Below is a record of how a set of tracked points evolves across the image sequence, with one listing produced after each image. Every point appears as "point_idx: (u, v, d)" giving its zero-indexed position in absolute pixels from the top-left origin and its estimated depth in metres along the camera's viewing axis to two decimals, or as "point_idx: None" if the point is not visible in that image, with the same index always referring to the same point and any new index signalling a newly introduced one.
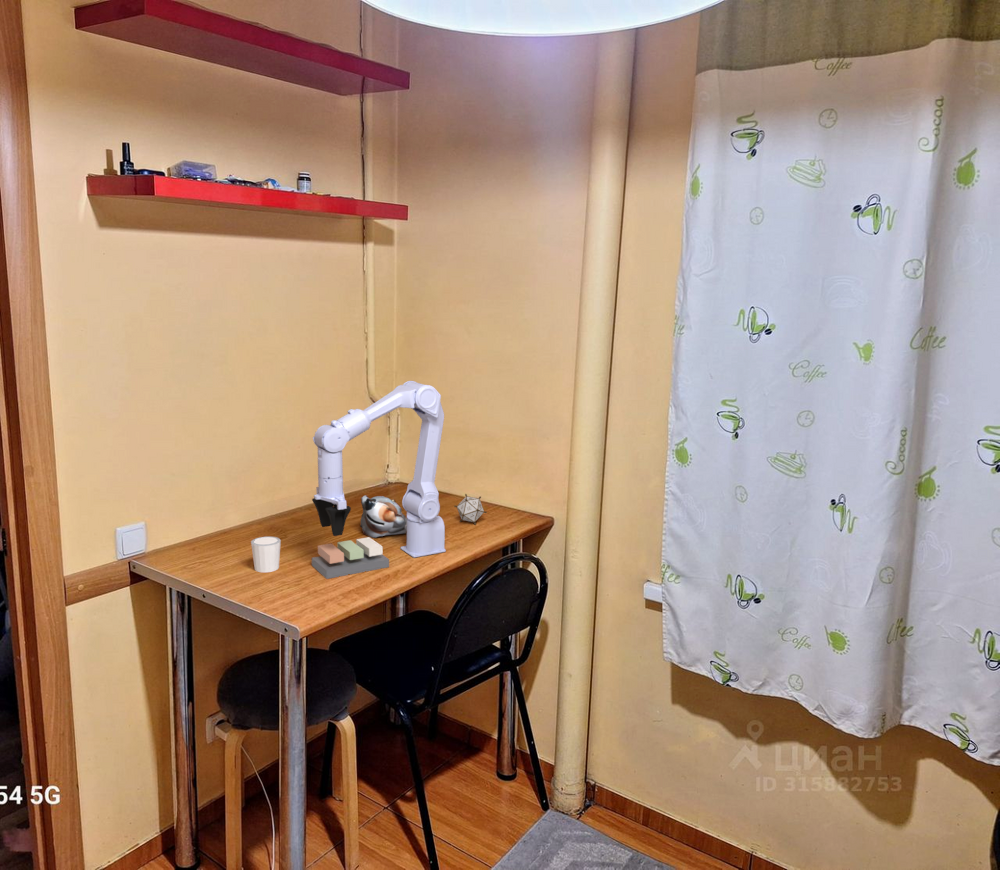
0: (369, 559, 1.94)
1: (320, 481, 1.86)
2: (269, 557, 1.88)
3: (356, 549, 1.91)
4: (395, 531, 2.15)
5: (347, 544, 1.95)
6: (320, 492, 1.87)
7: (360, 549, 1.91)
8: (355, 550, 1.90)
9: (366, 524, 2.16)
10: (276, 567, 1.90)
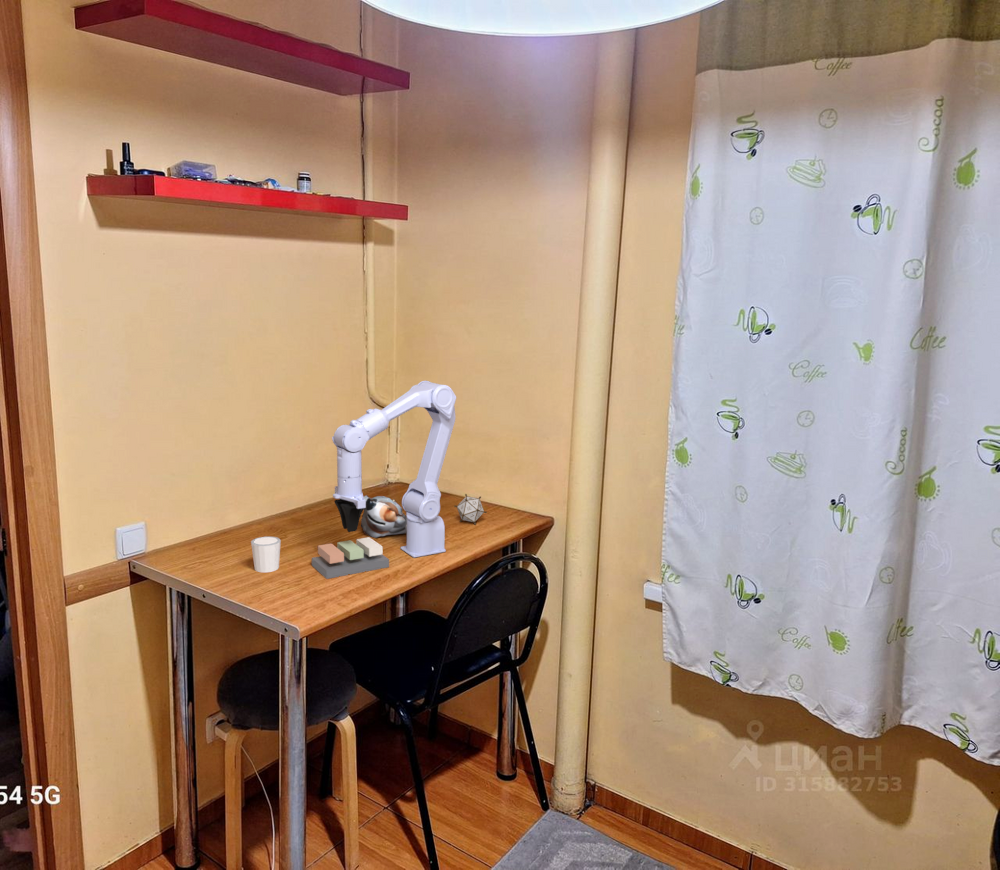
0: (369, 559, 1.94)
1: (339, 480, 1.88)
2: (269, 557, 1.88)
3: (356, 549, 1.91)
4: (396, 531, 2.16)
5: (347, 544, 1.95)
6: (339, 491, 1.88)
7: (360, 549, 1.91)
8: (355, 550, 1.90)
9: (367, 524, 2.16)
10: (276, 567, 1.90)
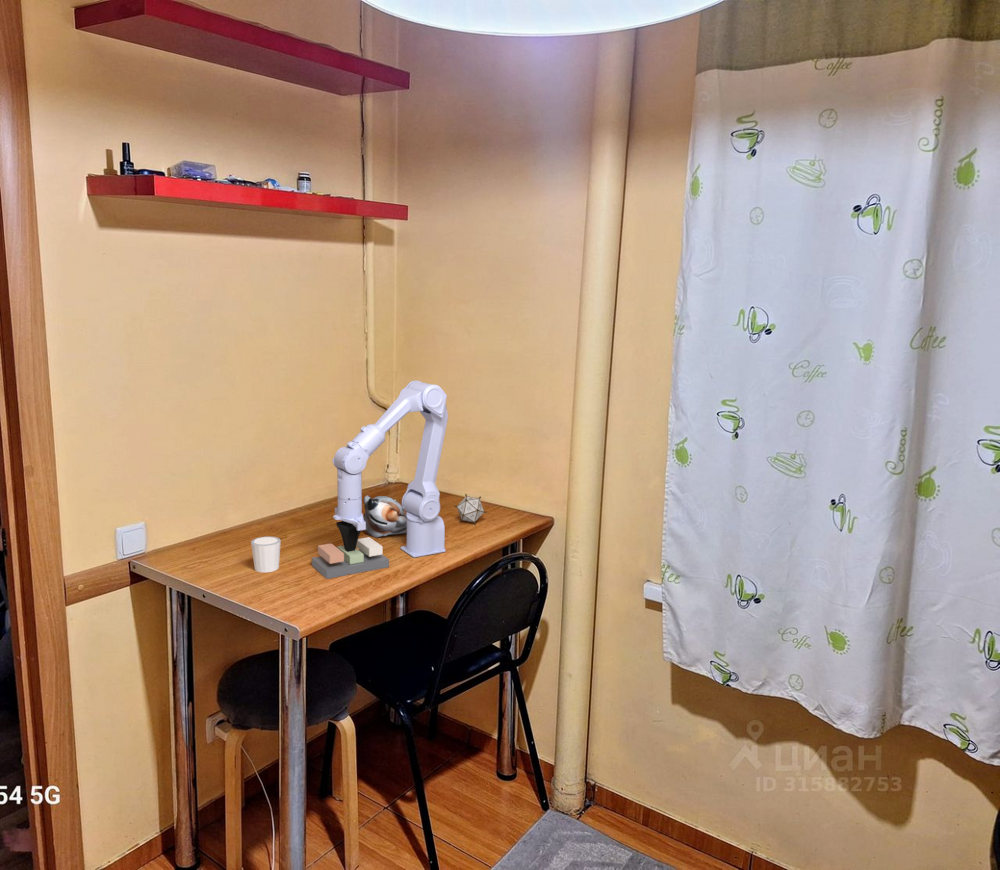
0: (369, 559, 1.94)
1: (340, 502, 1.89)
2: (269, 557, 1.88)
3: (357, 554, 1.91)
4: (398, 531, 2.16)
5: None
6: (339, 513, 1.90)
7: (360, 553, 1.91)
8: (355, 555, 1.90)
9: (368, 524, 2.16)
10: (276, 567, 1.90)
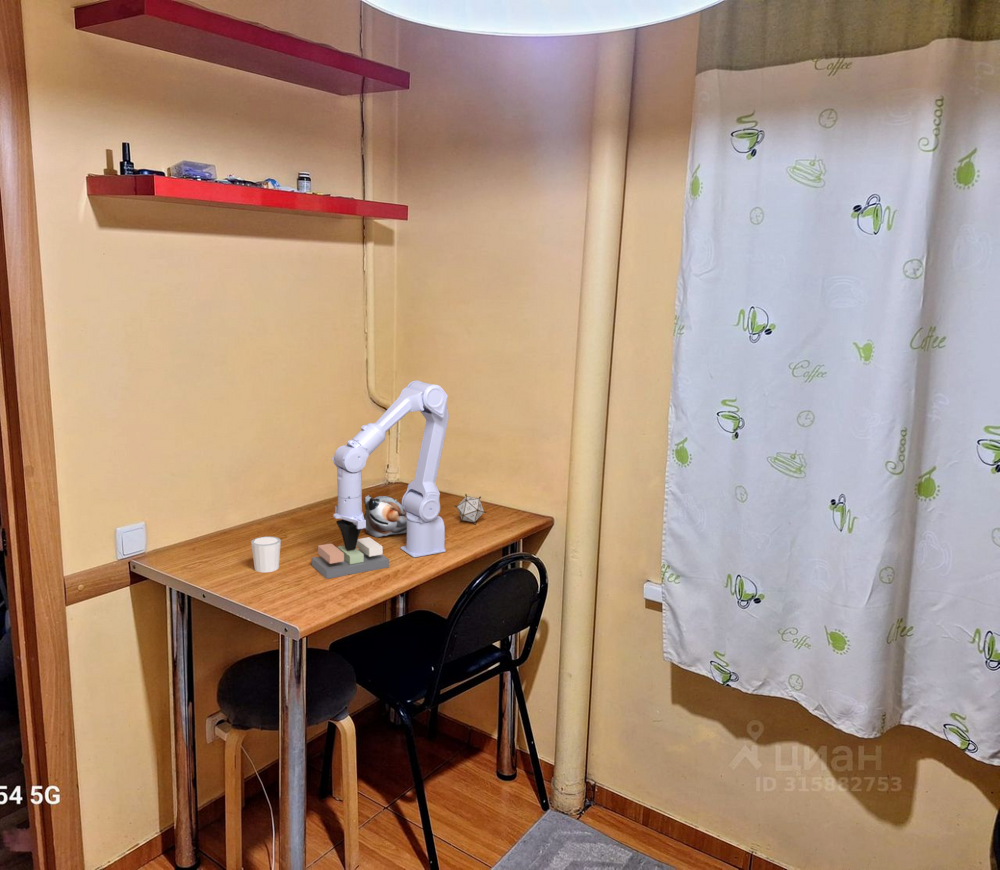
0: (369, 559, 1.94)
1: (340, 500, 1.89)
2: (269, 557, 1.88)
3: (357, 554, 1.91)
4: (398, 531, 2.16)
5: None
6: (339, 511, 1.89)
7: (360, 553, 1.91)
8: (355, 555, 1.90)
9: (369, 524, 2.16)
10: (276, 567, 1.90)
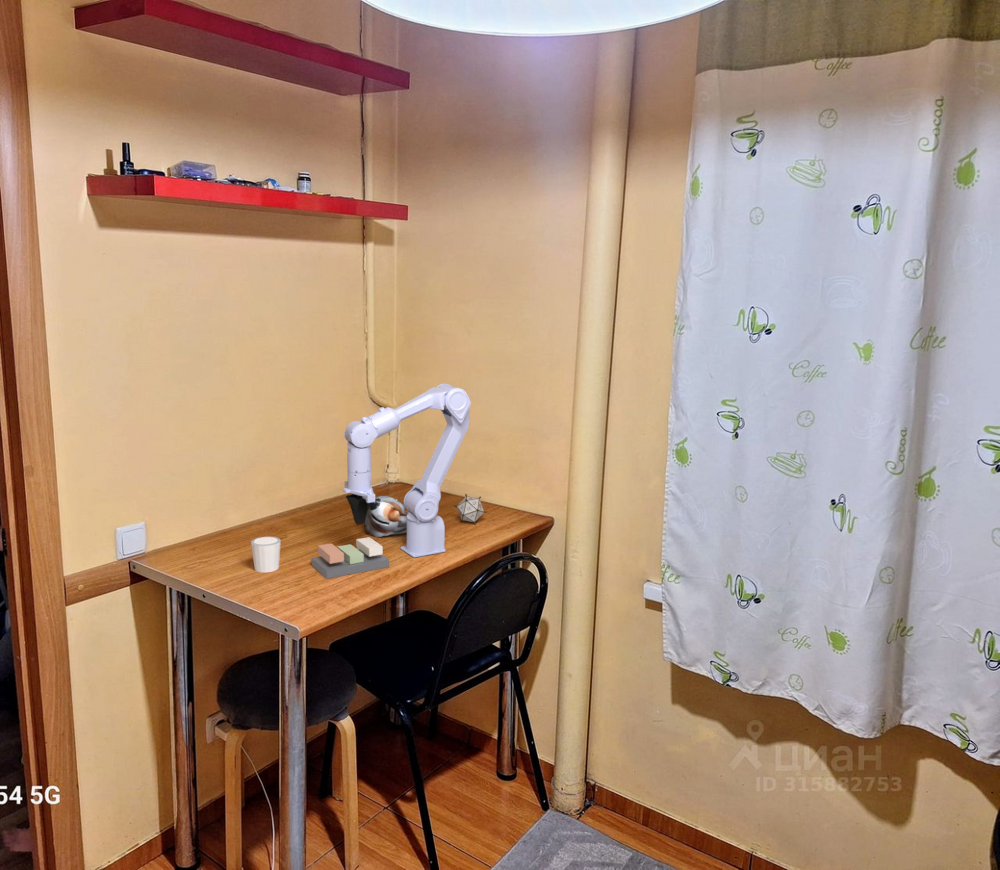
0: (369, 559, 1.94)
1: (349, 475, 1.93)
2: (269, 557, 1.88)
3: (357, 554, 1.91)
4: (399, 530, 2.16)
5: (347, 548, 1.95)
6: (349, 486, 1.93)
7: (360, 553, 1.91)
8: (355, 555, 1.90)
9: (370, 524, 2.16)
10: (276, 567, 1.90)
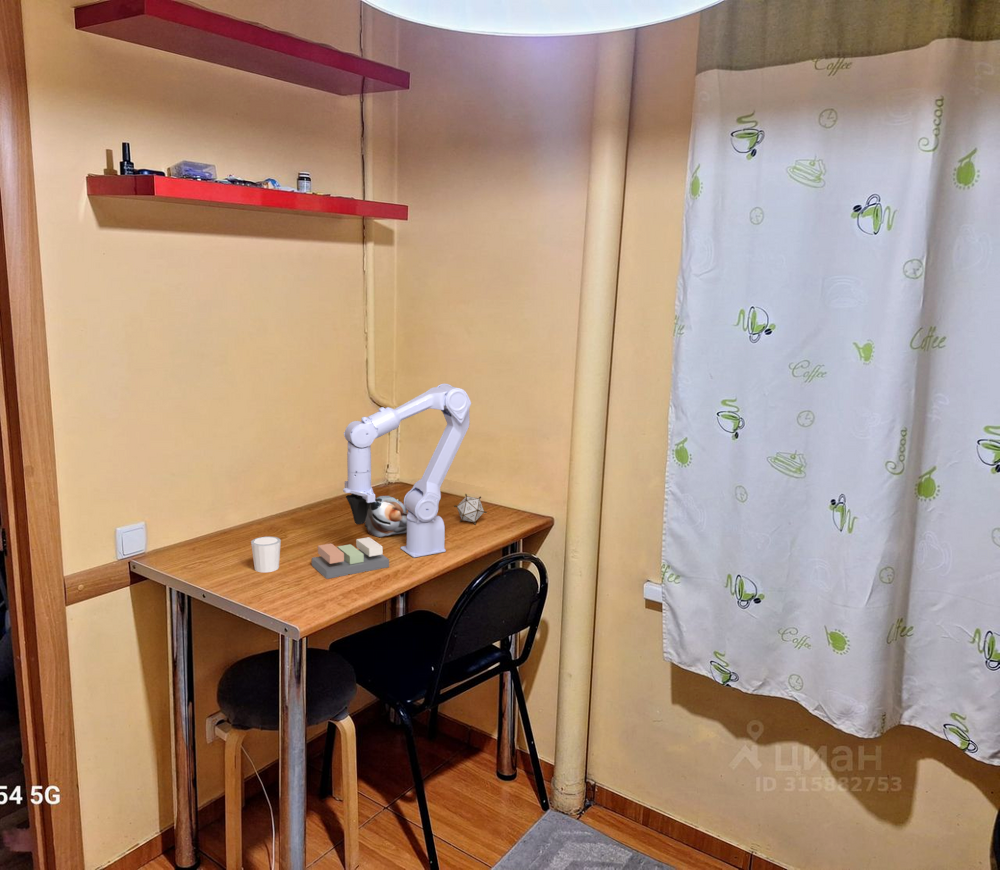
0: (369, 559, 1.94)
1: (349, 475, 1.93)
2: (269, 557, 1.88)
3: (357, 554, 1.91)
4: (400, 530, 2.16)
5: (347, 548, 1.95)
6: (349, 486, 1.93)
7: (360, 553, 1.91)
8: (355, 555, 1.90)
9: (371, 524, 2.16)
10: (276, 567, 1.90)
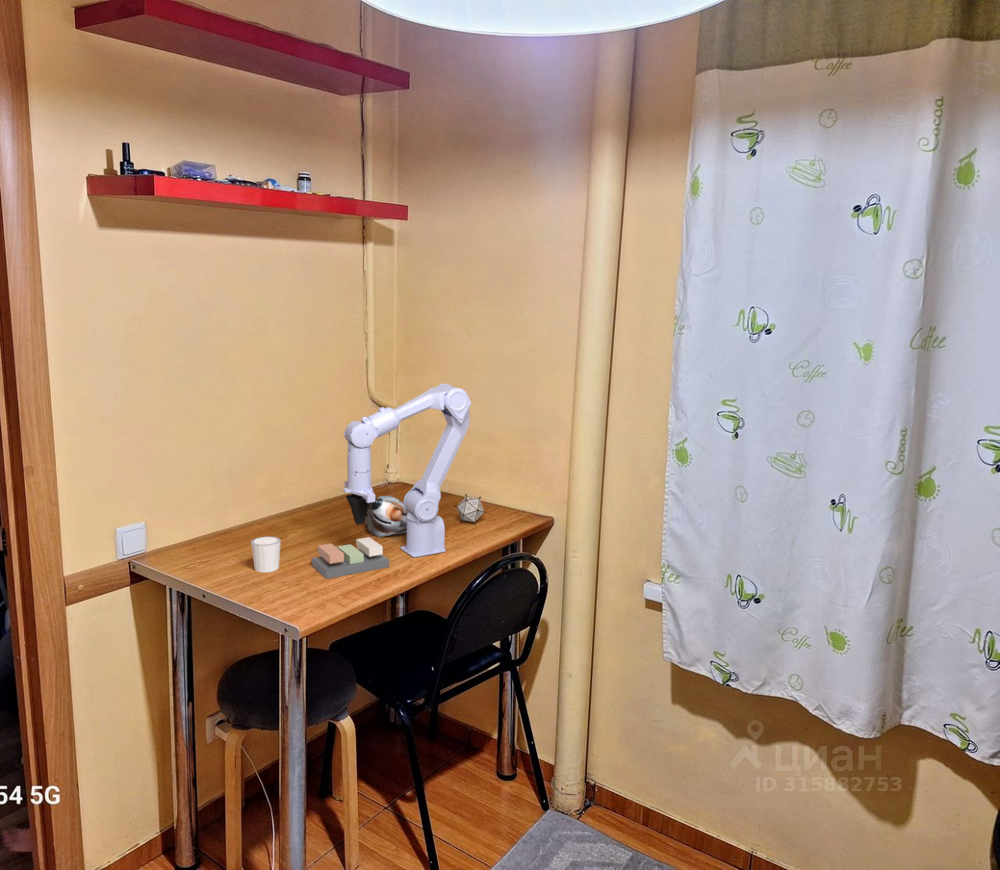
0: (369, 559, 1.94)
1: (349, 475, 1.93)
2: (269, 557, 1.88)
3: (357, 554, 1.91)
4: (401, 530, 2.16)
5: (347, 548, 1.95)
6: (349, 486, 1.93)
7: (360, 553, 1.91)
8: (355, 555, 1.90)
9: (372, 524, 2.16)
10: (276, 567, 1.90)
